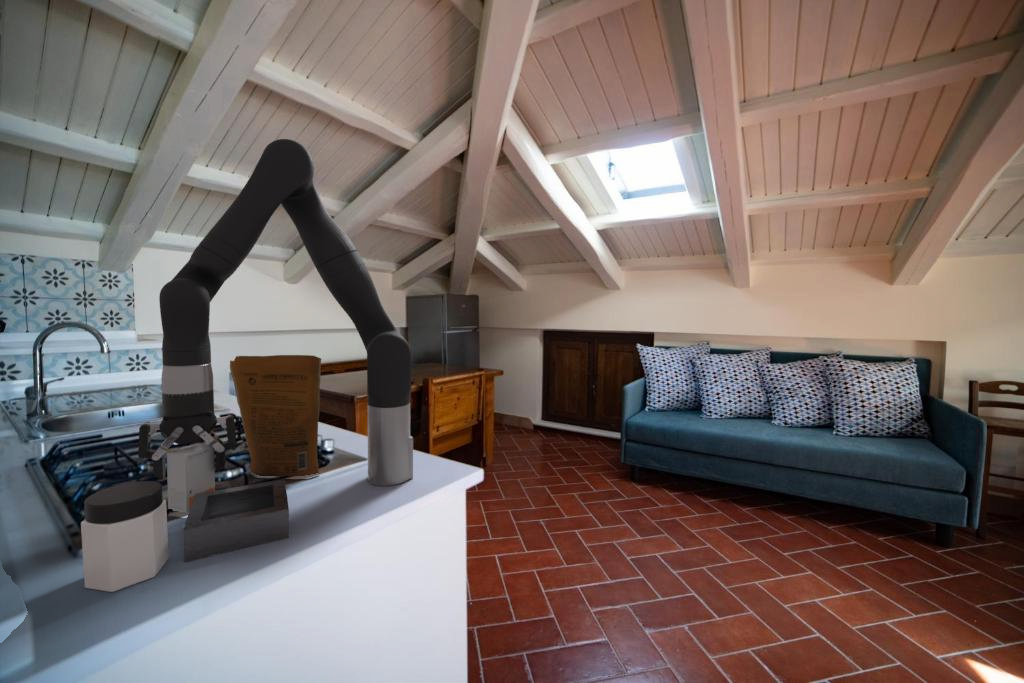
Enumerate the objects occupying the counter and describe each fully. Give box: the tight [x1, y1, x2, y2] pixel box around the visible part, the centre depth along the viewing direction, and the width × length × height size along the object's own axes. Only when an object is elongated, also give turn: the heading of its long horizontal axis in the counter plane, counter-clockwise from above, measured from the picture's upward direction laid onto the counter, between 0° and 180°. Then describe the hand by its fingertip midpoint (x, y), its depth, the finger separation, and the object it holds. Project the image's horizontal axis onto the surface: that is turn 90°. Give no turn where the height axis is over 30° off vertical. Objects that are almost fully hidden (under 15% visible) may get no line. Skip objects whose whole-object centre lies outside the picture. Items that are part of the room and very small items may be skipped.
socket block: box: [182, 479, 290, 563], centre depth 72 cm, size 14×14×5 cm
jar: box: [80, 480, 170, 593], centre depth 60 cm, size 9×8×12 cm
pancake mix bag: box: [229, 354, 322, 476], centre depth 94 cm, size 7×19×28 cm, turn 87°
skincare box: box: [166, 442, 216, 513], centre depth 78 cm, size 6×4×12 cm
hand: (191, 474), depth 78 cm, fingers open, 8 cm apart
